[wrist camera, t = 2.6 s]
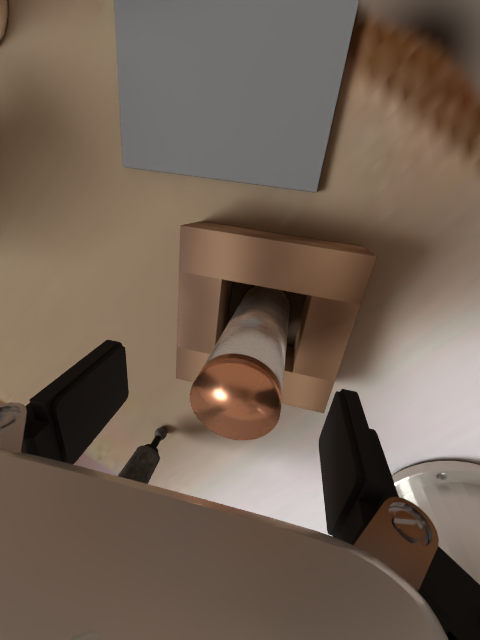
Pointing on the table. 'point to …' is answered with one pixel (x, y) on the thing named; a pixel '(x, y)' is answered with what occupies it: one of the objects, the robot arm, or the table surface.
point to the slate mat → (231, 86)
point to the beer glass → (3, 17)
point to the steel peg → (245, 369)
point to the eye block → (277, 273)
